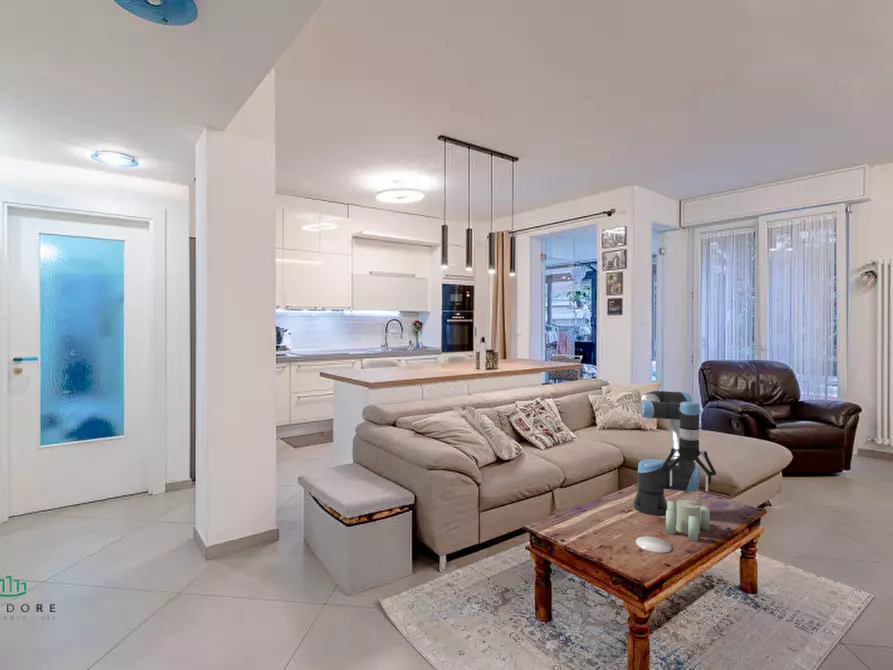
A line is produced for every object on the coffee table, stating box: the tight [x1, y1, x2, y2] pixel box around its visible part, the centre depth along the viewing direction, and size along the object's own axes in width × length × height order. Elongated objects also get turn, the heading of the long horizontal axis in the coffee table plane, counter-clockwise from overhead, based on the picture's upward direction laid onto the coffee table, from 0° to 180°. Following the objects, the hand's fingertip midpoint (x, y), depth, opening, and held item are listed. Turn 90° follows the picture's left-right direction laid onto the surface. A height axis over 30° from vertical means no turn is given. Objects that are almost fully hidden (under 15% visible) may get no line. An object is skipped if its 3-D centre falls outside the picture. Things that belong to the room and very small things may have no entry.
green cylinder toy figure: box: [675, 499, 701, 535], centre depth 200 cm, size 9×9×12 cm
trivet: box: [635, 535, 673, 554], centre depth 186 cm, size 13×13×1 cm
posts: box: [665, 500, 711, 542], centre depth 200 cm, size 17×21×9 cm
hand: (688, 487), depth 199 cm, fingers open, 13 cm apart
